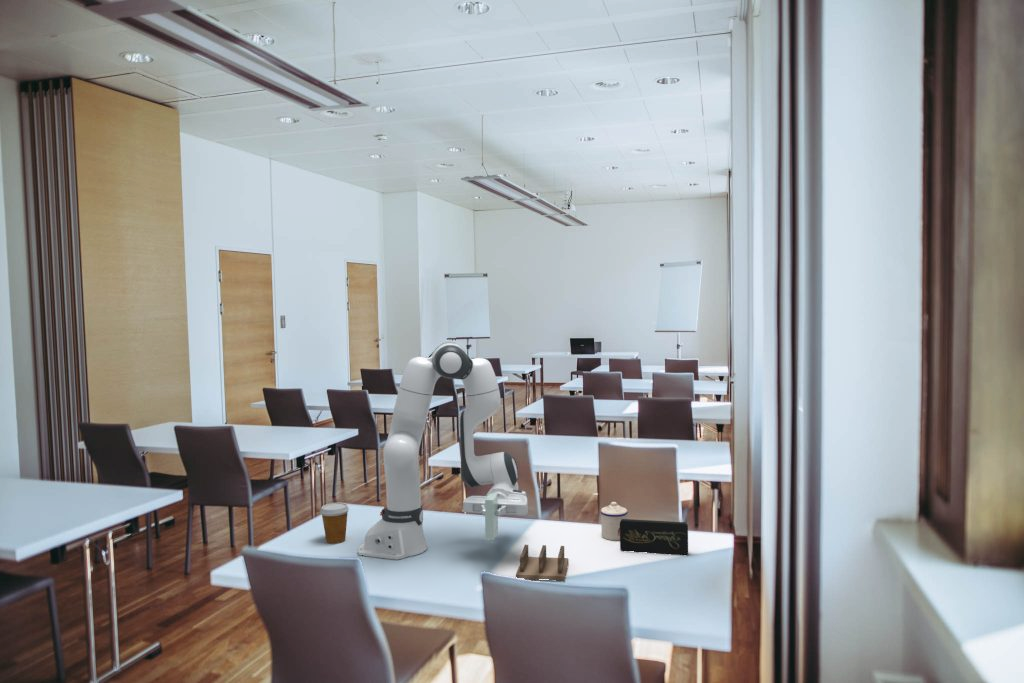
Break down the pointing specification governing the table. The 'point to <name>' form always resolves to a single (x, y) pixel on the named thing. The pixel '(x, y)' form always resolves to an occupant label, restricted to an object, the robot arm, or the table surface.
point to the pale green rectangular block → (491, 517)
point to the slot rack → (542, 566)
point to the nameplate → (654, 536)
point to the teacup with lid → (612, 520)
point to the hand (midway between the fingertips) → (491, 513)
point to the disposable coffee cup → (335, 522)
